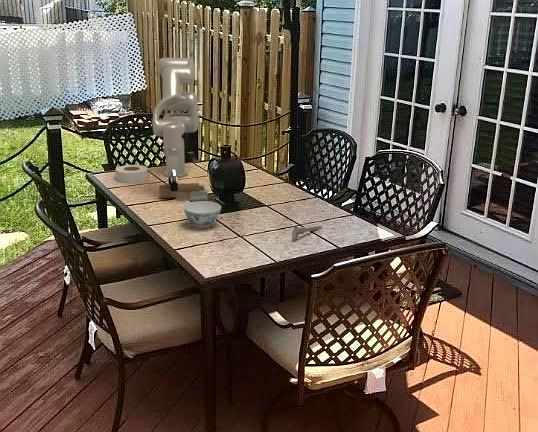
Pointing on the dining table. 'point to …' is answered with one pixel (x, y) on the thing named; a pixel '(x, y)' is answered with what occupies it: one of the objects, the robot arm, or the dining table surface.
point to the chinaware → (202, 213)
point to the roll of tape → (131, 174)
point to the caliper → (302, 231)
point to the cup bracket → (195, 195)
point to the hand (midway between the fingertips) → (173, 187)
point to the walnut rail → (182, 190)
